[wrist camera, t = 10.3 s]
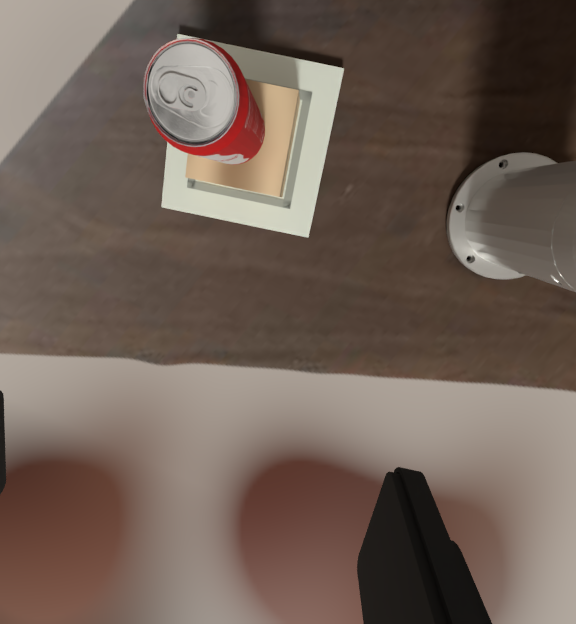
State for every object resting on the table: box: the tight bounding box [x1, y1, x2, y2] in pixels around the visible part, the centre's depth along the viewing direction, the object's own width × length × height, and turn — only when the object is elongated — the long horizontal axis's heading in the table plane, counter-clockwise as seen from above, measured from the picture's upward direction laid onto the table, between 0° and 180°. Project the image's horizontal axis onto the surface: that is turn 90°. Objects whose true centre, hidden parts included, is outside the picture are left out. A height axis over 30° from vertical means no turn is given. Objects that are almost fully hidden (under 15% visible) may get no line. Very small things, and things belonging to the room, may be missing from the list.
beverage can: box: [143, 38, 265, 165], centre depth 26 cm, size 6×6×15 cm
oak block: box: [185, 79, 300, 197], centre depth 35 cm, size 9×9×4 cm
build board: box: [161, 34, 344, 237], centre depth 38 cm, size 16×16×1 cm
